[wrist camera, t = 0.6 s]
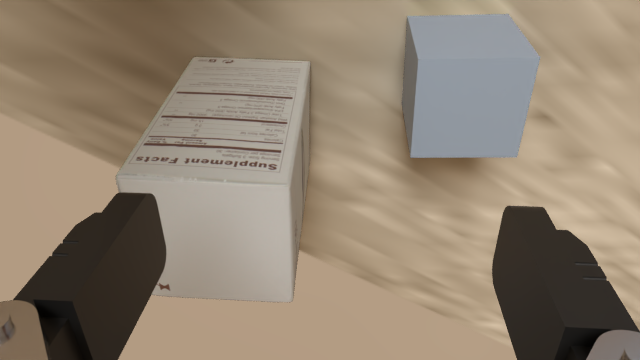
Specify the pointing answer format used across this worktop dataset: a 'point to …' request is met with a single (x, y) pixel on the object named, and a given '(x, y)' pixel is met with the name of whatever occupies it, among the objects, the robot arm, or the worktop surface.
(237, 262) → the supplement box
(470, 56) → the blue block
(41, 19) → the worktop surface
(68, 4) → the worktop surface
